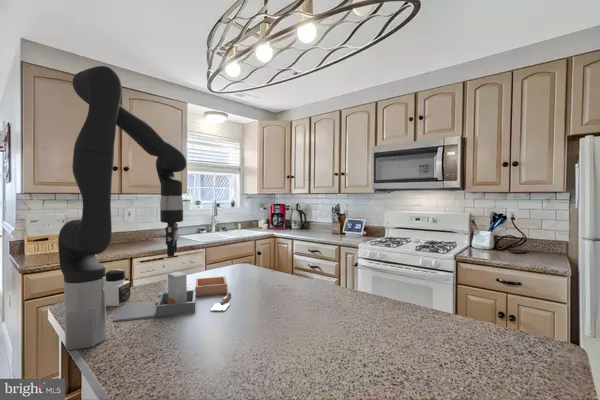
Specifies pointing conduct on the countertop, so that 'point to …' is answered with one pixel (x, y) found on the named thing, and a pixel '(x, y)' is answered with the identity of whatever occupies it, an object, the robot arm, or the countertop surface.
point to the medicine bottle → (117, 288)
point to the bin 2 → (211, 286)
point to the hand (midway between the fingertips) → (172, 253)
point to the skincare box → (177, 288)
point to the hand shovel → (221, 305)
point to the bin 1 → (156, 308)
